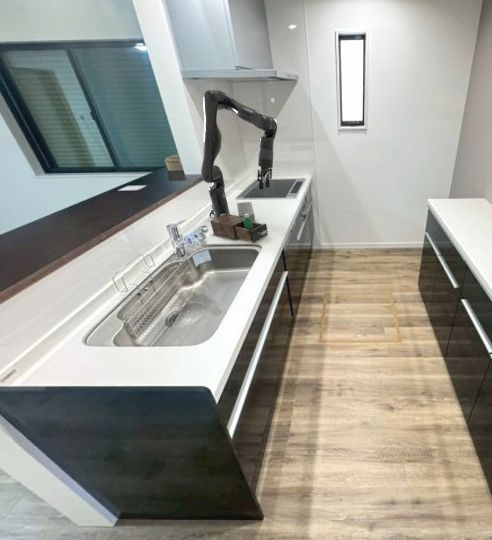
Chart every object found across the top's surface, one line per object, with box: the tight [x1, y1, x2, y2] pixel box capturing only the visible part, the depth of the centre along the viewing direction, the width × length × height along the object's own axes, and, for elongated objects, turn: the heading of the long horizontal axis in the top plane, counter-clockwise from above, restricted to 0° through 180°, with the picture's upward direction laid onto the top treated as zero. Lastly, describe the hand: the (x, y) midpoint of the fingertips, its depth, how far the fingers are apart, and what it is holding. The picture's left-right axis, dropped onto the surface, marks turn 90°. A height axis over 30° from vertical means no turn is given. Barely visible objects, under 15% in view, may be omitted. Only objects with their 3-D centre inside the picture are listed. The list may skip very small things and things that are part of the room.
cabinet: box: [210, 213, 244, 241], centre depth 171 cm, size 18×13×9 cm
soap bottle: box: [243, 214, 254, 231], centre depth 164 cm, size 4×4×12 cm
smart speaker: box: [236, 201, 256, 222], centre depth 185 cm, size 10×9×14 cm
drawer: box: [234, 221, 269, 244], centre depth 165 cm, size 20×11×7 cm, turn 61°
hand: (264, 188), depth 164 cm, fingers open, 8 cm apart
